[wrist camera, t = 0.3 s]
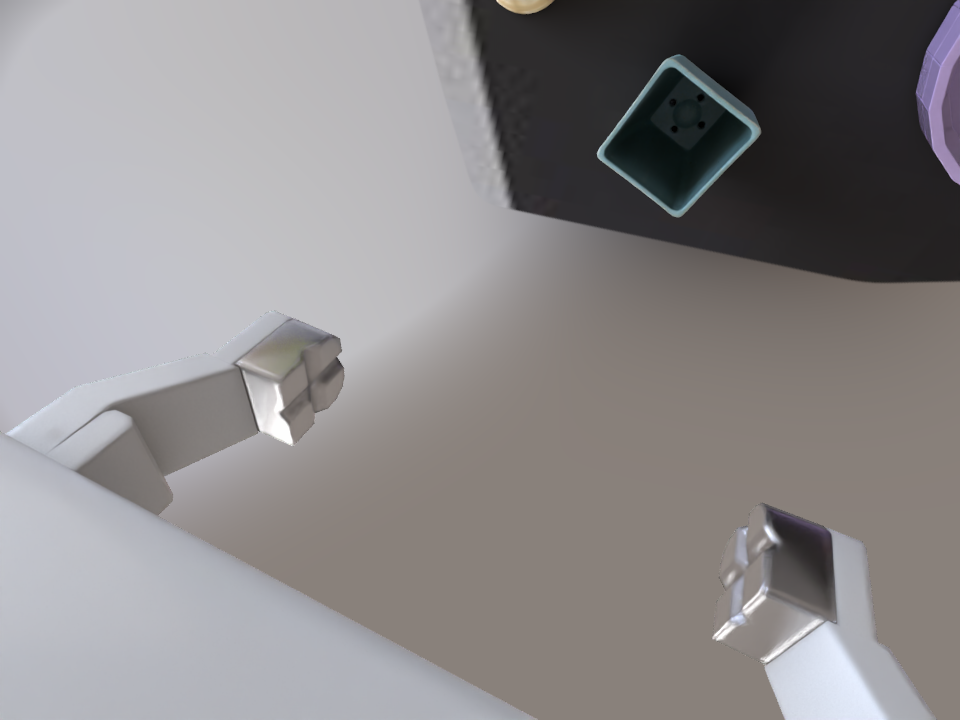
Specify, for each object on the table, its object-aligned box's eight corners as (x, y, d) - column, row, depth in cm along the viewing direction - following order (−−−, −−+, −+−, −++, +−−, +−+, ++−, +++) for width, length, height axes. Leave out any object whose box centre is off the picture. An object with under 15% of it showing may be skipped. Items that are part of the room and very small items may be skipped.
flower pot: (769, 99, 45) (765, 131, 38) (691, 182, 51) (677, 221, 45) (685, 32, 44) (668, 54, 38) (618, 124, 50) (593, 155, 44)
